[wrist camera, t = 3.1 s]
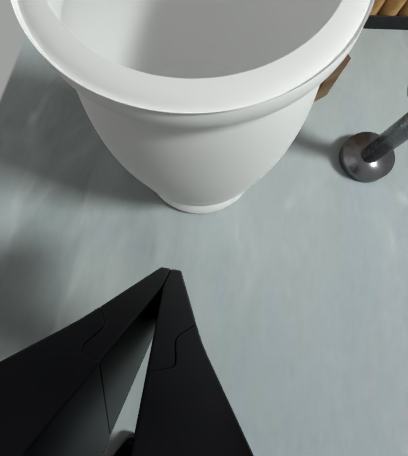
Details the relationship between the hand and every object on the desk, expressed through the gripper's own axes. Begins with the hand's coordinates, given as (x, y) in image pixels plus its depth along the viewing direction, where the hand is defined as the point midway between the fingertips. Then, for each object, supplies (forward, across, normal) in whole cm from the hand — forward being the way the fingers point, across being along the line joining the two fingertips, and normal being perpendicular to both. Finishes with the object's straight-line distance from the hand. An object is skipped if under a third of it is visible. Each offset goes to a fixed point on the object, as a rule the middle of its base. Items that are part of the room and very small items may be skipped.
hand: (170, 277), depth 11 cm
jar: (+14, 0, 0) cm, 14 cm away
